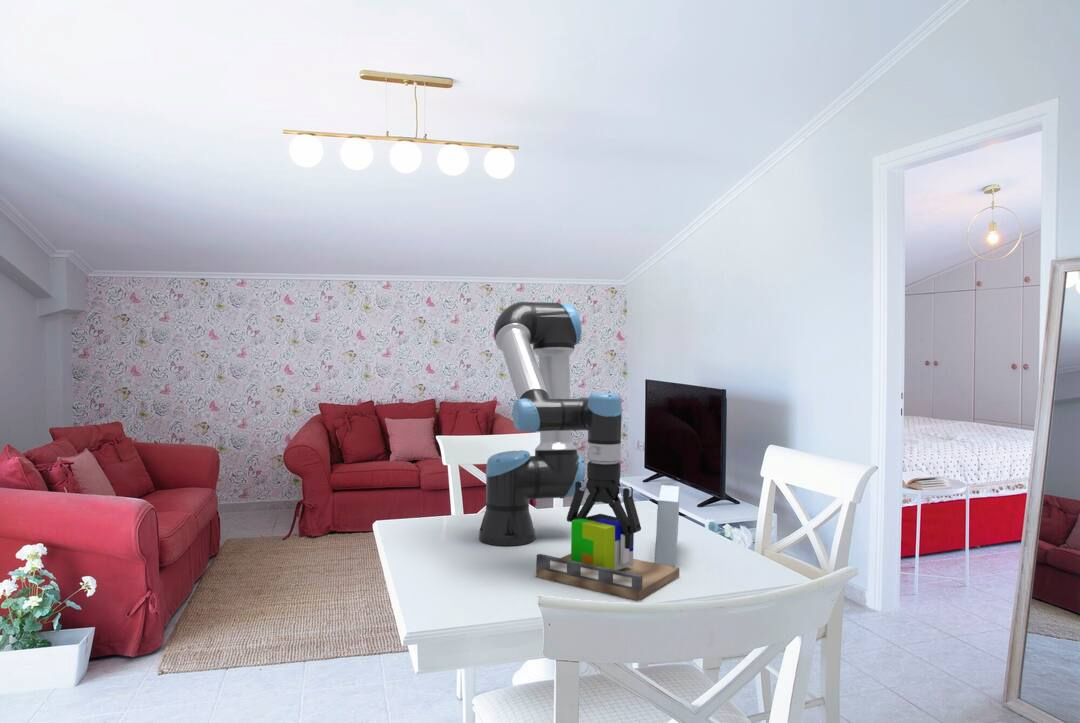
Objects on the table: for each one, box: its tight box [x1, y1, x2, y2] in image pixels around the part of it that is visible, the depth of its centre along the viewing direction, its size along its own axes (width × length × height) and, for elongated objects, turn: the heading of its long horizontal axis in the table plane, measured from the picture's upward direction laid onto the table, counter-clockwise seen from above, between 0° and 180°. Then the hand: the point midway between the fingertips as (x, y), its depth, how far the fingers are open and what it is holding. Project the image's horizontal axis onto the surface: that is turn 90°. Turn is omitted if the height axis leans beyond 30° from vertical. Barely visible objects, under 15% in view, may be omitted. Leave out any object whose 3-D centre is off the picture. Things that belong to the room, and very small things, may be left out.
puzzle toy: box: [570, 513, 635, 570], centre depth 167 cm, size 10×10×10 cm
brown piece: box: [535, 553, 680, 601], centre depth 167 cm, size 26×20×5 cm
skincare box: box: [653, 484, 680, 567], centre depth 186 cm, size 21×6×16 cm, turn 168°
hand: (602, 557), depth 167 cm, fingers closed on puzzle toy, 11 cm apart
